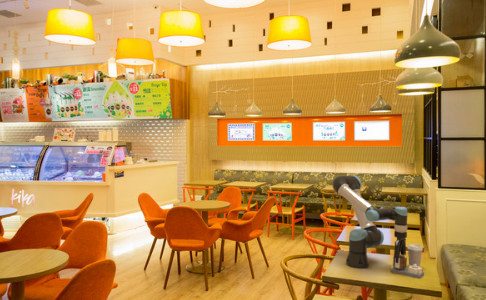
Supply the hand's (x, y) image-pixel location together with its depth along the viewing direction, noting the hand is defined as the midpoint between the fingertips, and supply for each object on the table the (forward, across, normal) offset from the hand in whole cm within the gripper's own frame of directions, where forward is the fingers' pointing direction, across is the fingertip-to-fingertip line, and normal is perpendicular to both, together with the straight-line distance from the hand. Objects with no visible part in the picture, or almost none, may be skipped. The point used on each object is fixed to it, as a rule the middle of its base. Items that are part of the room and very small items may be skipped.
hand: (399, 266), depth 255 cm
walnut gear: (0, 0, 0) cm, 0 cm away
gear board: (+4, 0, -5) cm, 6 cm away
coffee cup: (+4, +14, -5) cm, 16 cm away
